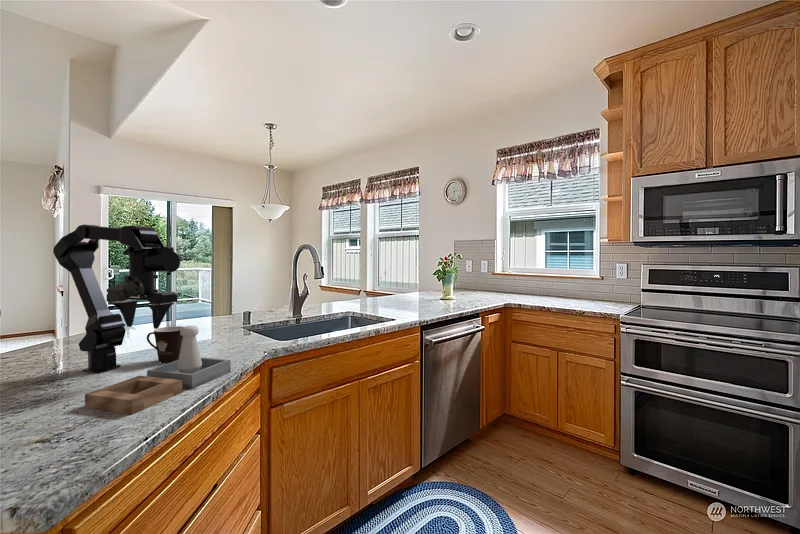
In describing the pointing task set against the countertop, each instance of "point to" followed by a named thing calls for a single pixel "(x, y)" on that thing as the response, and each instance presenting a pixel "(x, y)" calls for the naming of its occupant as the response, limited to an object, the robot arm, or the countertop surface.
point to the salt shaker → (189, 351)
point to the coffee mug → (167, 343)
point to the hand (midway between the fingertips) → (142, 327)
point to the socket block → (133, 394)
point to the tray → (207, 372)
